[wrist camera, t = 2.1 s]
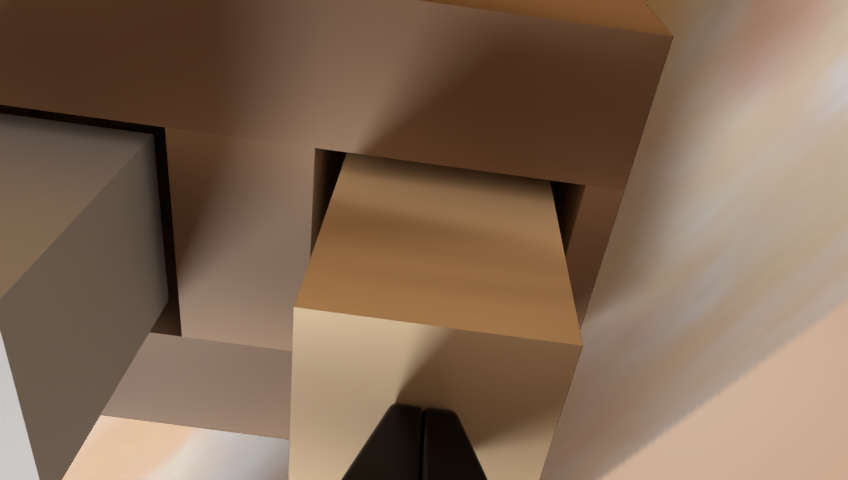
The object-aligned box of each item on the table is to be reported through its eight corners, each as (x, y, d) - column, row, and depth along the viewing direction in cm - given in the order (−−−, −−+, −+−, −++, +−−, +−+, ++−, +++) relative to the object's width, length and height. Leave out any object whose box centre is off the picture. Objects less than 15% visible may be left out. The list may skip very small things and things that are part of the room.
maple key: (509, 323, 14) (524, 524, 10) (338, 301, 14) (288, 494, 10) (547, 170, 12) (583, 346, 8) (349, 143, 12) (292, 307, 8)
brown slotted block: (524, 355, 17) (535, 471, 14) (-229, 256, 17) (-375, 353, 14) (625, -22, 12) (672, 36, 10) (-424, -173, 12) (-711, -160, 9)
